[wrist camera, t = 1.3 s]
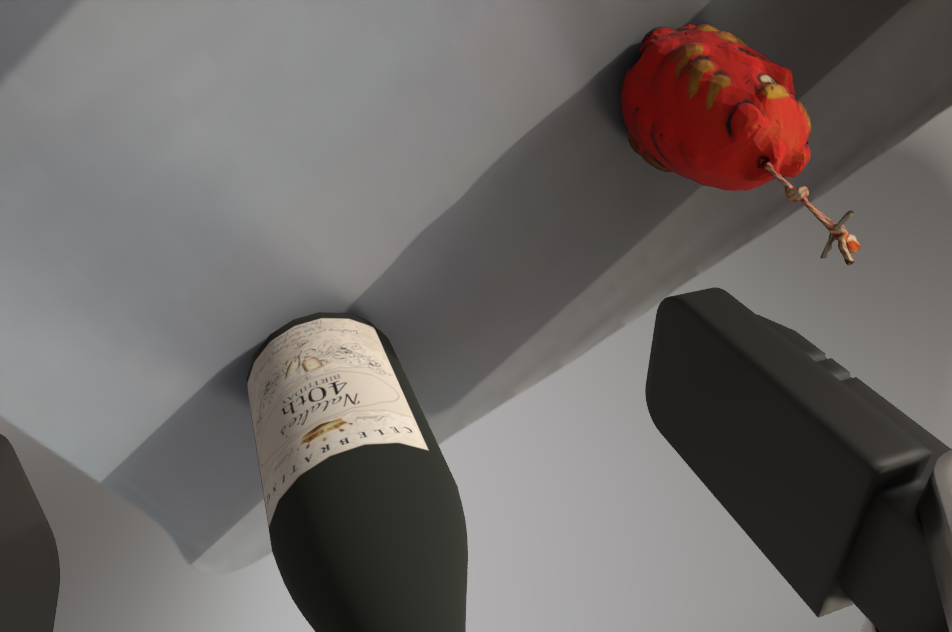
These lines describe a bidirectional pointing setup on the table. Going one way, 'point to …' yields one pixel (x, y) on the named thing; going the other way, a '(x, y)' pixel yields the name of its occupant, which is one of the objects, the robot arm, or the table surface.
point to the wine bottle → (355, 482)
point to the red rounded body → (720, 116)
